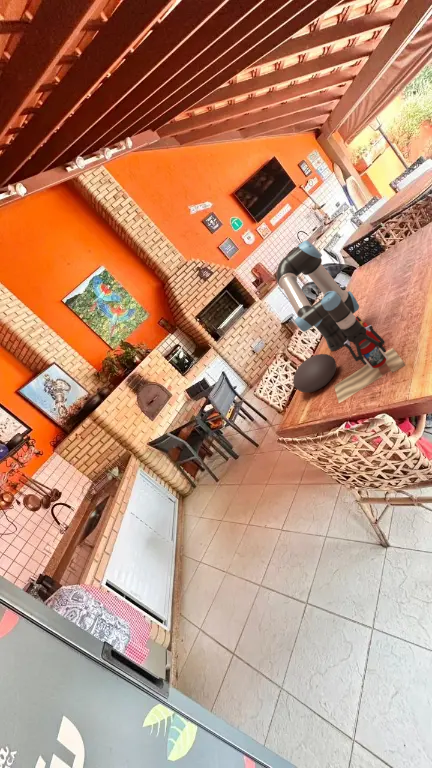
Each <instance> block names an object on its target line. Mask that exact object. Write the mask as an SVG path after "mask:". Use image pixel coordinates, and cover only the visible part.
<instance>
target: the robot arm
mask: <svg viewBox="0 0 432 768" xmlns="http://www.w3.org/2000/svg"><path fill="white" fill-rule="evenodd" d="M322 256H323V255H322V253H321V251H320V250H318V248H317V247H316V246H315V245H314V244H313V243H312V242H310V240H304V241H302V243H300V244H298V245H297V246H296V247H295V248H294V249H293V250H291V251H290V252H289V253H288V254H287V255H286V256H285V257H283V258H282V259H281V261H280V262H279V263H278V266H277V270H276V282H277V285H278V286H279V288H280V289H281V290H283V291H284V293H285V295H286V297H287V299H288V301H289V303H290V304H291V306H292V308H293V310H294V312H295V314H296V315H297V317H296V318H295V319H294V322H295V325H296V327H297V328H299V330H300V331H302V332H304V333H305V332H307V331H309V330H310V329H312V328H313V327H314V328H316V329H317V331H318V332H319V333H320V335H321V336H322V337H323V338H324V340H325V342H326V344H327V349H329V351H331V352H335V351H338V350H339V348H340V347H341V348H343V347H346V348H347V349H348V350H349V352H350V354H351V356H352V357H353V359H354V361H355V362H359V361H361V362H362V363H363V365H364V366H365V365H367V364H368V366H369V367H370V368H371V369H373V367H372V366H371V365H370V364H369V362H368V361H367V360H366V359H365V357H364V356H363V355H362V353H361V350H360V347H359V343H360V342H361V341H362V340H364V339H366V340H368V341H370V342H372V343H374V344H375V345H377V346H378V349H379V350H380V351H381V353H382V354H383V355H384V356H385V358H386V359H387V360H388V359H389V358H388V357H387V356H386V354H385V352H387V350H386V348H385V346H384V344H385V343H386V341H385V340H384V338H383V337H382V336H381V335H379V334H378V332H377V331H375V329H374V327H373V326H372V324H368V327H363V326H362V325H361V324H360V322H359V321H358V320H357V319H356V317H357V316H355V315H354V314H355V313H356V312H357V311H359V310H360V309H359V308H360V305H359V303H358V301H357V300H356V298H355V296H354V294H353V292H351V290H349V291H348V290H345V289H342V287H340V285H339V284H338V283H337V282H336V280H335V279H334V278H333V276H332V275H331V274H330V273H329V271H328V270H326V267H324V265H323V264H322V261H323V260H322ZM301 274H302V275H304V276H308V277H309V278H310V279H311V281H312V282H313V283H314V284H315V285H316V287H317V288H318V289H319V290H320V291H321V292H322V294H323V297H322V298H321V299H319V301H317V302H316V303H314V304H313V305H312V304H311V302H310V301H309V300H308V298H307V296H306V295H305V293H304V291H303V289H302V288H301V285H299V282H298V278H297V277H298V276H300V275H301ZM366 330H368V331H371V332H372V333H373V334H374V335H375V336H376V337H377V338H378V339H379V341H380V342H378V341H376V340H374V339H373V338H371V337H369V336H368V335H366ZM353 342H354V343H355V344H354V343H353ZM351 343H353V344H354V346H355V345H356V346H355V347H356V348H355V349H356V351H357V354H356V352H354V349H353V348H352V346H351ZM343 345H344V346H343ZM382 345H383V346H384V347H383V346H382ZM342 346H343V347H342ZM341 348H340V349H341ZM337 349H338V350H337ZM334 350H335V351H334ZM357 355H358V356H357Z"/></svg>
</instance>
